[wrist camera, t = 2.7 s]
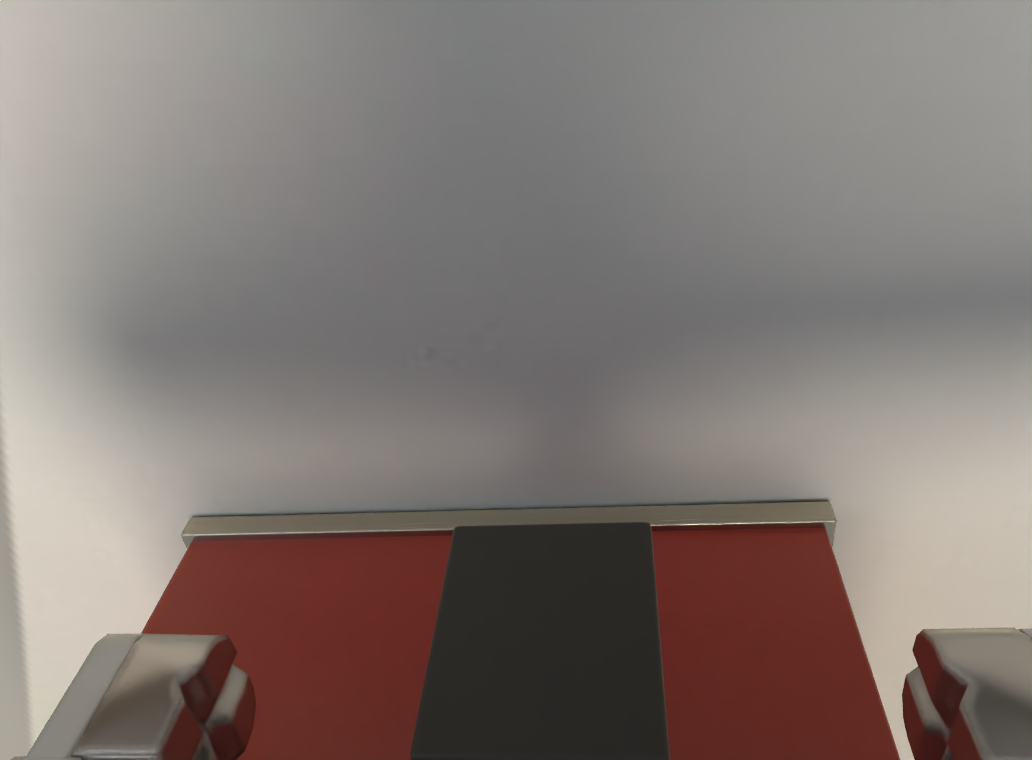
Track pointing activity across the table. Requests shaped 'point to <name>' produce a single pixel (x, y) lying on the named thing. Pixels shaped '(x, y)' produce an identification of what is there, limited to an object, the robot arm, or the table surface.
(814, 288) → the table surface
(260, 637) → the toaster
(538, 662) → the toaster slider
